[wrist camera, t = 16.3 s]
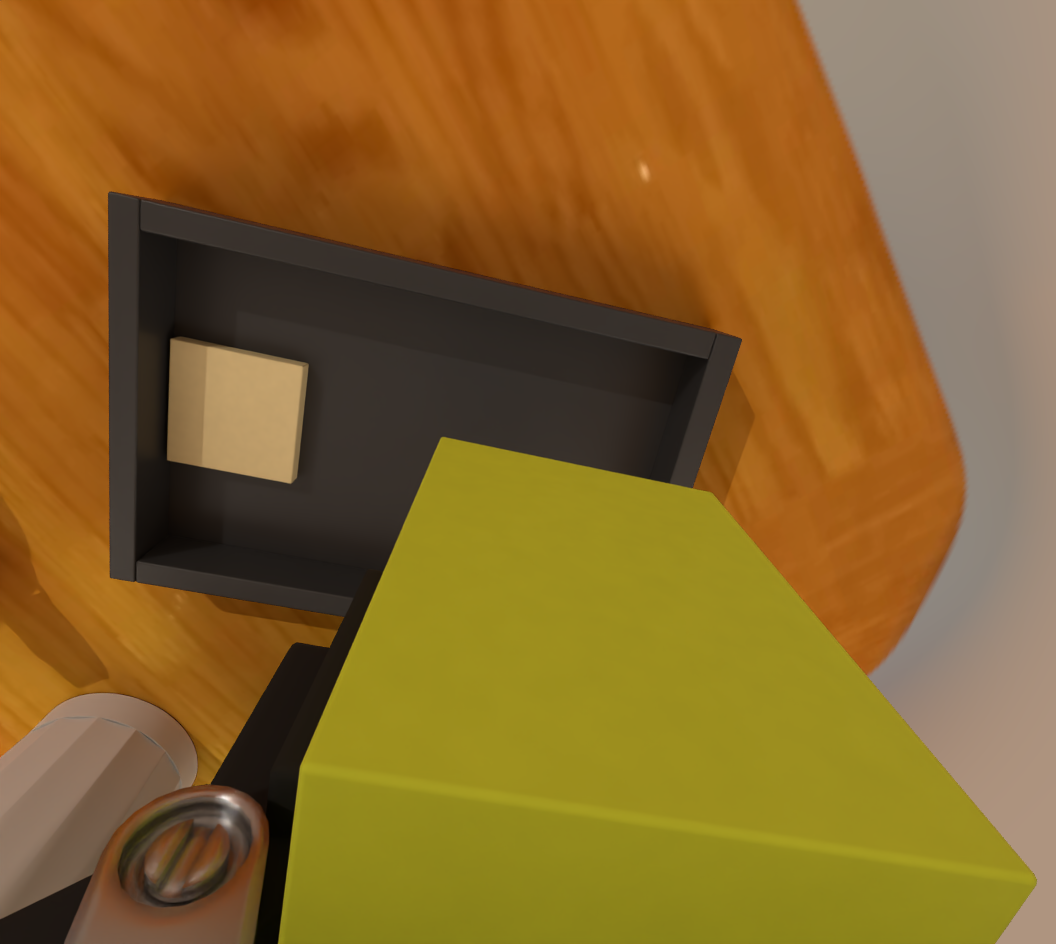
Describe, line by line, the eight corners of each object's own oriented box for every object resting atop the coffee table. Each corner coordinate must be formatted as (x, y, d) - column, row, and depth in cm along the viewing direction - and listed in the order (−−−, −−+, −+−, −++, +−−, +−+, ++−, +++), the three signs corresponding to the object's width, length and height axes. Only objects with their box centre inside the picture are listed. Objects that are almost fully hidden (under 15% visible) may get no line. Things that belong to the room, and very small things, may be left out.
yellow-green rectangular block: (713, 491, 10) (1045, 881, 4) (602, 808, 12) (692, 1378, 6) (440, 435, 9) (296, 766, 3) (379, 773, 12) (227, 1348, 5)
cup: (241, 814, 26) (39, 1240, 15) (61, 838, 26) (-278, 1281, 15) (181, 662, 23) (-122, 1041, 12) (-19, 690, 23) (-509, 1092, 12)
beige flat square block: (309, 363, 19) (303, 366, 18) (297, 478, 20) (291, 484, 20) (179, 336, 19) (169, 338, 18) (175, 454, 20) (165, 460, 19)
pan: (713, 329, 20) (743, 338, 17) (620, 623, 23) (633, 666, 21) (161, 200, 18) (106, 190, 15) (153, 542, 22) (108, 578, 19)
